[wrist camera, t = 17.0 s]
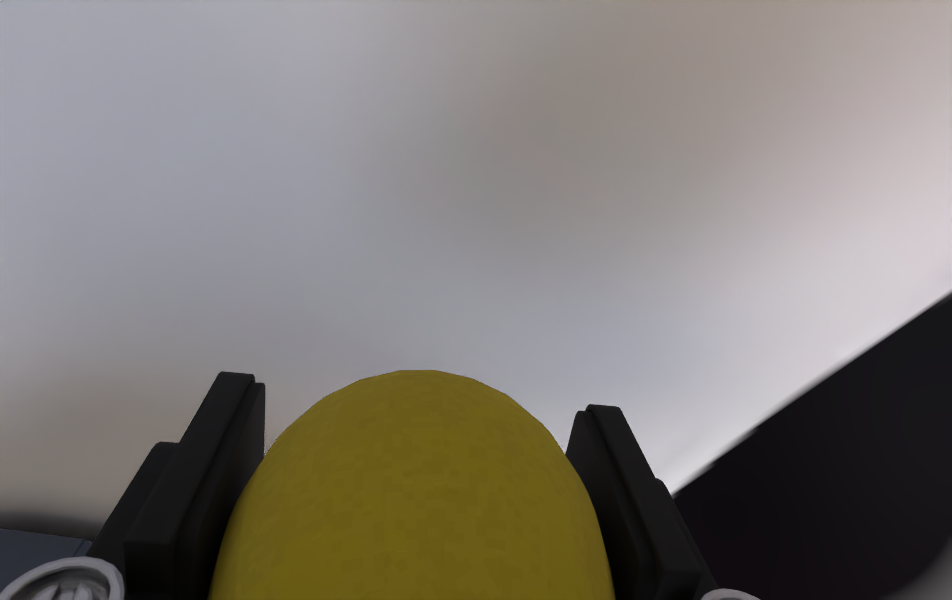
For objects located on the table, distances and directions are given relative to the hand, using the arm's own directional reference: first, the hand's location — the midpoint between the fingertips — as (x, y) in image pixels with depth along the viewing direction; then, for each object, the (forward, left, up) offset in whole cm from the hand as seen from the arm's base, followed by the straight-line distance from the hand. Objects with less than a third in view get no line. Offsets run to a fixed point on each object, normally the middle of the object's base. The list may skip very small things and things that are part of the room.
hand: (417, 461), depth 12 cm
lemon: (0, 0, -2) cm, 2 cm away
